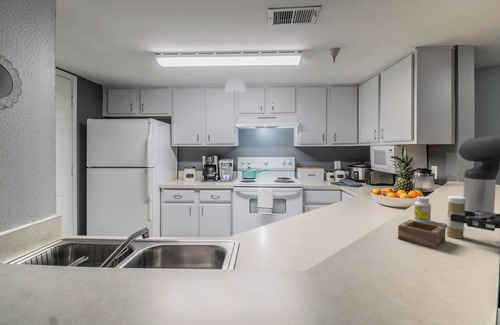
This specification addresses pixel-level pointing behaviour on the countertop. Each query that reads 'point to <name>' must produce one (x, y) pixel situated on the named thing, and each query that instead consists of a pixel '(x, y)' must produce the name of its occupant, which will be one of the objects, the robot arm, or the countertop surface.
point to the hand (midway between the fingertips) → (454, 214)
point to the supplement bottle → (422, 210)
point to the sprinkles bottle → (456, 207)
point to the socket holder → (422, 233)
